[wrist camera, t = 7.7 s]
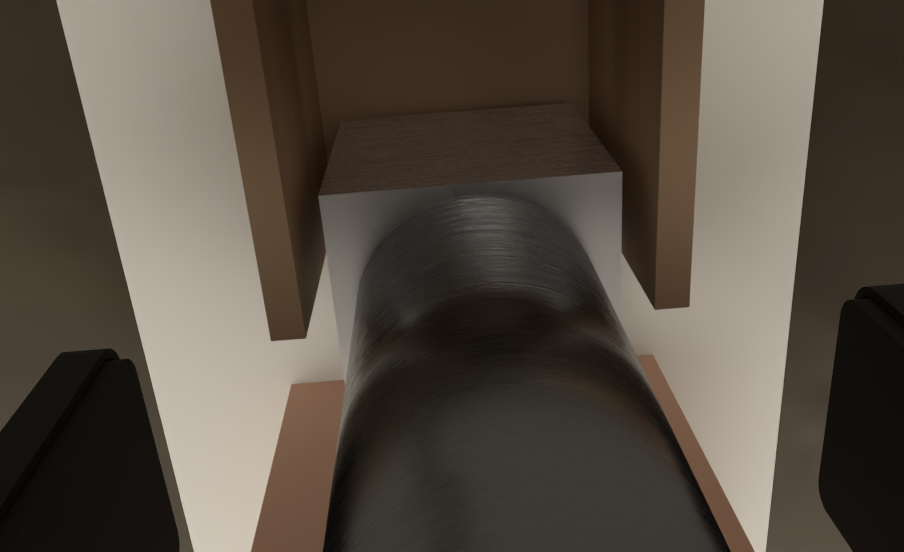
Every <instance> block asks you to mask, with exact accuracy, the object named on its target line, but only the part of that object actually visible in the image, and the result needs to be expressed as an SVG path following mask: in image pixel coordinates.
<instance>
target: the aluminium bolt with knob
mask: <svg viewBox="0 0 904 552" xmlns="http://www.w3.org/2000/svg"><path fill="white" fill-rule="evenodd" d="M318 198H319V205H320V212H321V219H322V226H323V233H324V240H325V247H326V254H327V261H328V269H329V276H330V283H331V290H332V297H333V304H334V311H335V318H336V325H337V332H338V339H339V346H340V353H341V360H342V368H343V375H344V382H345V390H344V397H343V405H342V412H341V420H340V427H339V435H338V442H337V450H336V457H335V464H334V472H333V479H332V487H331V494H330V502H329V509H328V517H327V524H326V532H325V539H324V547H323V552H731V551H730V549H729V547H728V544H727V542H726V540H725V538H724V536H723V534H722V532H721V530H720V528H719V526H718V524H717V522H716V520H715V517H714V515H713V513H712V511H711V509H710V507H709V505H708V503H707V501H706V499H705V497H704V495H703V493H702V490H701V488H700V486H699V484H698V482H697V480H696V478H695V476H694V474H693V472H692V470H691V468H690V465H689V463H688V461H687V459H686V457H685V455H684V453H683V451H682V449H681V447H680V445H679V443H678V441H677V438H676V436H675V434H674V432H673V430H672V428H671V426H670V424H669V422H668V420H667V418H666V416H665V414H664V411H663V409H662V407H661V405H660V403H659V401H658V399H657V397H656V395H655V393H654V391H653V389H652V387H651V384H650V382H649V380H648V378H647V376H646V374H645V372H644V370H643V368H642V366H641V364H640V362H639V360H638V357H637V355H636V353H635V351H634V349H633V347H632V345H631V343H630V341H629V339H628V337H627V335H626V333H625V330H624V328H623V326H622V324H621V322H620V316H621V242H622V170H621V169H620V168H619V166H618V165H617V164H616V162H615V161H614V159H613V158H612V157H611V155H610V154H609V153H608V151H607V150H606V149H605V147H604V146H603V145H602V143H601V142H600V141H599V139H598V138H597V137H596V135H595V134H594V133H593V131H592V130H591V129H590V127H589V126H588V125H587V123H586V122H585V121H584V119H583V118H582V116H581V115H580V114H579V112H578V111H577V110H576V108H575V107H574V106H573V104H572V103H571V102H568V103H555V104H543V105H530V106H518V107H505V108H492V109H480V110H467V111H454V112H442V113H429V114H416V115H404V116H391V117H379V118H366V119H353V120H341V123H340V126H339V129H338V132H337V136H336V139H335V142H334V146H333V149H332V152H331V155H330V159H329V162H328V165H327V169H326V172H325V175H324V178H323V182H322V185H321V188H320V192H319V195H318Z"/></svg>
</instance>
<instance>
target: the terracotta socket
mask: <svg viewBox="0 0 904 552" xmlns="http://www.w3.org/2000/svg"><path fill="white" fill-rule="evenodd" d="M637 357H638V360H639V362H640V364H641V366H642V368H643V370H644V372H645V374H646V376H647V378H648V380H649V382H650V384H651V387H652V389H653V391H654V393H655V395H656V397H657V399H658V401H659V403H660V405H661V407H662V409H663V411H664V414H665V416H666V418H667V420H668V422H669V424H670V426H671V428H672V430H673V432H674V434H675V436H676V438H677V441H678V443H679V445H680V447H681V449H682V451H683V453H684V455H685V457H686V459H687V461H688V463H689V465H690V468H691V470H692V472H693V474H694V476H695V478H696V480H697V482H698V484H699V486H700V488H701V490H702V493H703V495H704V497H705V499H706V501H707V503H708V505H709V507H710V509H711V511H712V513H713V515H714V517H715V520H716V522H717V524H718V526H719V528H720V530H721V532H722V534H723V536H724V538H725V540H726V542H727V544H728V547H729V549H730V551H731V552H755V551H754V549H753V547H752V545H751V543H750V541H749V539H748V537H747V535H746V534H745V532H744V530H743V528H742V526H741V524H740V522H739V520H738V518H737V516H736V514H735V512H734V510H733V508H732V506H731V505H730V503H729V501H728V499H727V497H726V495H725V493H724V491H723V489H722V487H721V485H720V483H719V481H718V479H717V477H716V476H715V474H714V472H713V470H712V468H711V466H710V464H709V462H708V460H707V458H706V456H705V454H704V452H703V450H702V449H701V447H700V445H699V443H698V441H697V439H696V437H695V435H694V433H693V431H692V429H691V427H690V425H689V423H688V421H687V420H686V418H685V416H684V414H683V412H682V410H681V408H680V406H679V404H678V402H677V400H676V398H675V396H674V394H673V392H672V391H671V389H670V387H669V385H668V383H667V381H666V379H665V377H664V375H663V373H662V371H661V369H660V367H659V365H658V363H657V362H656V360H655V358H654V356H653V354H652V355H640V356H637ZM344 390H345V382H344V380H336V381H324V382H312V383H299V384H291V388H290V392H289V396H288V400H287V404H286V408H285V413H284V417H283V421H282V425H281V429H280V433H279V437H278V441H277V446H276V450H275V454H274V458H273V462H272V466H271V470H270V474H269V478H268V483H267V487H266V491H265V495H264V499H263V503H262V507H261V511H260V516H259V520H258V524H257V528H256V532H255V536H254V540H253V544H252V549H251V552H323V547H324V539H325V532H326V524H327V517H328V509H329V502H330V494H331V487H332V479H333V472H334V464H335V457H336V450H337V442H338V435H339V427H340V420H341V412H342V405H343V397H344Z"/></svg>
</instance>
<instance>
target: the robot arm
mask: <svg viewBox="0 0 904 552" xmlns="http://www.w3.org/2000/svg"><path fill="white" fill-rule="evenodd" d="M819 493H820V497H821V501H822V503H823V506H824V508H825V510H826V512H827V513H828V515H829V516H830V518H831V519H832V521H833V522H834V524H835V525H836V527H837V528H838V530H839V531H840V533H841V534H842V536H843V537H844V539H845V540H846V542H847V543H848V545H849V546H850V548H851V549H852V551H853V552H904V284H895V285H883V286H870V287H863V288H861V289H860V290H859V291H858V292H857V294H856V296H855V299H854V300H847V301H846V302H845V303H844V305H843V307H842V310H841V314H840V322H839V329H838V337H837V344H836V352H835V359H834V367H833V375H832V382H831V390H830V397H829V405H828V412H827V420H826V427H825V435H824V442H823V450H822V457H821V465H820V473H819ZM0 552H179V536H178V531H177V527H176V523H175V519H174V515H173V511H172V507H171V503H170V500H169V496H168V492H167V488H166V484H165V480H164V476H163V472H162V468H161V465H160V461H159V457H158V453H157V449H156V445H155V441H154V437H153V433H152V429H151V426H150V422H149V418H148V414H147V410H146V406H145V402H144V398H143V394H142V391H141V387H140V383H139V379H138V375H137V371H136V368H135V365H134V364H133V362H132V361H131V360H130V359H121V360H120V358H119V356H118V355H117V353H116V352H115V351H114V350H113V349H99V350H87V351H75V352H63V353H61V354H60V355H59V356H58V357H57V358H56V359H55V360H54V362H53V363H52V364H51V366H50V367H49V368H48V370H47V371H46V372H45V374H44V375H43V376H42V378H41V379H40V380H39V382H38V383H37V384H36V386H35V387H34V388H33V389H32V391H31V392H30V393H29V395H28V396H27V397H26V399H25V400H24V401H23V403H22V404H21V405H20V407H19V408H18V409H17V411H16V412H15V413H14V415H13V416H12V417H11V419H10V420H9V421H8V423H7V424H6V425H5V427H4V428H3V429H2V430H1V432H0Z"/></svg>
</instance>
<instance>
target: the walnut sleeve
mask: <svg viewBox="0 0 904 552" xmlns="http://www.w3.org/2000/svg"><path fill="white" fill-rule="evenodd" d="M210 3H211V9H212V14H213V20H214V26H215V31H216V37H217V42H218V48H219V54H220V59H221V65H222V70H223V76H224V82H225V87H226V93H227V98H228V104H229V110H230V115H231V121H232V126H233V132H234V137H235V143H236V149H237V154H238V160H239V165H240V171H241V177H242V182H243V188H244V193H245V199H246V205H247V210H248V216H249V221H250V227H251V233H252V238H253V244H254V249H255V255H256V261H257V266H258V272H259V277H260V283H261V288H262V294H263V300H264V305H265V311H266V316H267V322H268V328H269V333H270V339H271V341H282V340H294V339H306V336H307V332H308V328H309V324H310V319H311V315H312V311H313V307H314V302H315V298H316V294H317V290H318V285H319V281H320V277H321V272H322V268H323V264H324V260H325V255H326V247H325V240H324V233H323V226H322V219H321V212H320V205H319V198H318V195H319V192H320V188H321V185H322V182H323V178H324V175H325V172H326V169H327V165H328V162H329V159H330V155H331V152H332V149H333V146H334V142H335V139H336V136H337V132H338V129H339V126H340V123H341V120H353V119H366V118H379V117H391V116H404V115H416V114H429V113H442V112H454V111H467V110H480V109H492V108H505V107H518V106H530V105H543V104H555V103H568V102H571V103H572V104H573V106H574V107H575V108H576V110H577V111H578V112H579V114H580V115H581V116H582V118H583V119H584V121H585V122H586V123H587V125H588V126H589V127H590V129H591V130H592V131H593V133H594V134H595V135H596V137H597V138H598V139H599V141H600V142H601V143H602V145H603V146H604V147H605V149H606V150H607V151H608V153H609V154H610V155H611V157H612V158H613V159H614V161H615V162H616V164H617V165H618V166H619V168H620V169H621V170H622V242H621V252H622V254H623V256H624V258H625V259H626V261H627V263H628V265H629V266H630V268H631V270H632V272H633V273H634V275H635V277H636V278H637V280H638V282H639V284H640V285H641V287H642V289H643V291H644V292H645V294H646V296H647V298H648V299H649V301H650V303H651V304H652V306H653V308H654V310H661V309H673V308H686V307H689V306H690V286H691V266H692V246H693V226H694V207H695V187H696V167H697V147H698V128H699V108H700V88H701V68H702V49H703V29H704V9H705V0H210Z"/></svg>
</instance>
